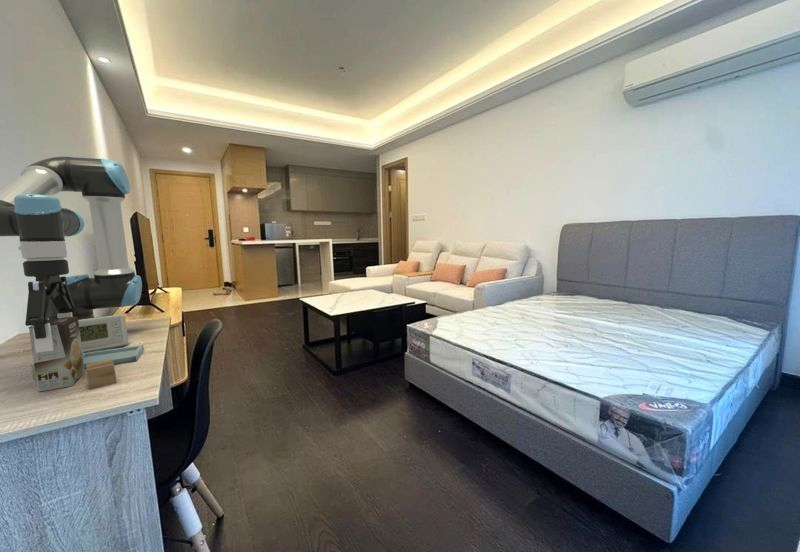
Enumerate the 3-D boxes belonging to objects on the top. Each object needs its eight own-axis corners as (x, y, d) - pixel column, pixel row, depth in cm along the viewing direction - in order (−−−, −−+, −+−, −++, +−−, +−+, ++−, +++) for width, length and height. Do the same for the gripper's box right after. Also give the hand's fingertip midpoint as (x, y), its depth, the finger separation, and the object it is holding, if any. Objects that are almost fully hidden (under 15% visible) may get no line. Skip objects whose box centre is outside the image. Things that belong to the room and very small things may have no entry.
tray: (82, 358, 100) (82, 353, 100) (143, 349, 108) (143, 344, 107) (67, 372, 90) (66, 366, 90) (136, 361, 97) (135, 356, 97)
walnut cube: (88, 383, 83) (86, 364, 82) (114, 377, 86) (112, 359, 86) (89, 389, 79) (86, 370, 79) (116, 383, 83) (113, 364, 82)
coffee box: (73, 386, 81) (64, 323, 79) (37, 392, 78) (27, 327, 76) (86, 373, 89) (78, 315, 87) (53, 378, 86) (45, 319, 84)
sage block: (40, 374, 89) (38, 360, 88) (65, 370, 91) (63, 357, 91) (33, 380, 85) (30, 365, 85) (59, 376, 88) (57, 361, 87)
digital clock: (58, 359, 100) (54, 325, 99) (67, 350, 108) (63, 319, 106) (127, 348, 109) (123, 317, 108) (130, 341, 116) (127, 312, 115)
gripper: (47, 258, 89) (57, 333, 91) (-8, 262, 67) (8, 362, 70) (83, 257, 92) (93, 329, 95) (43, 261, 71) (56, 355, 73)
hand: (57, 343), depth 82 cm, fingers open, 13 cm apart
